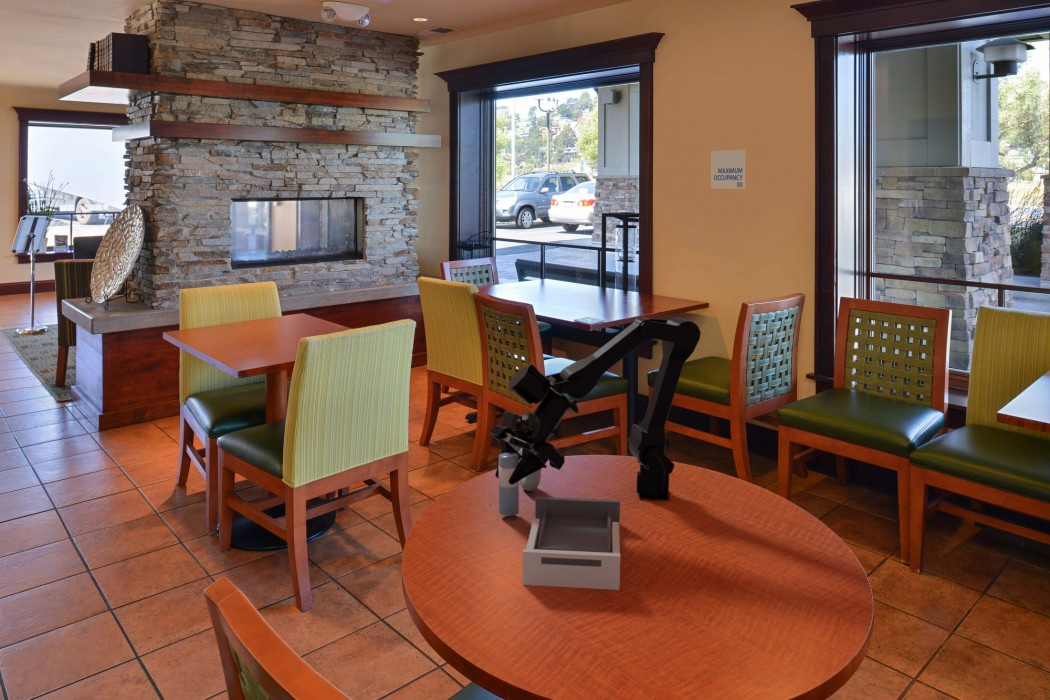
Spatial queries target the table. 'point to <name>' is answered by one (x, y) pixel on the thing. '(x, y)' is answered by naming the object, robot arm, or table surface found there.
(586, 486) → the table surface
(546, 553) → the dock
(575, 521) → the tray
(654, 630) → the table surface
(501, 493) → the canister
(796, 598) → the table surface
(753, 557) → the table surface
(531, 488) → the donut
